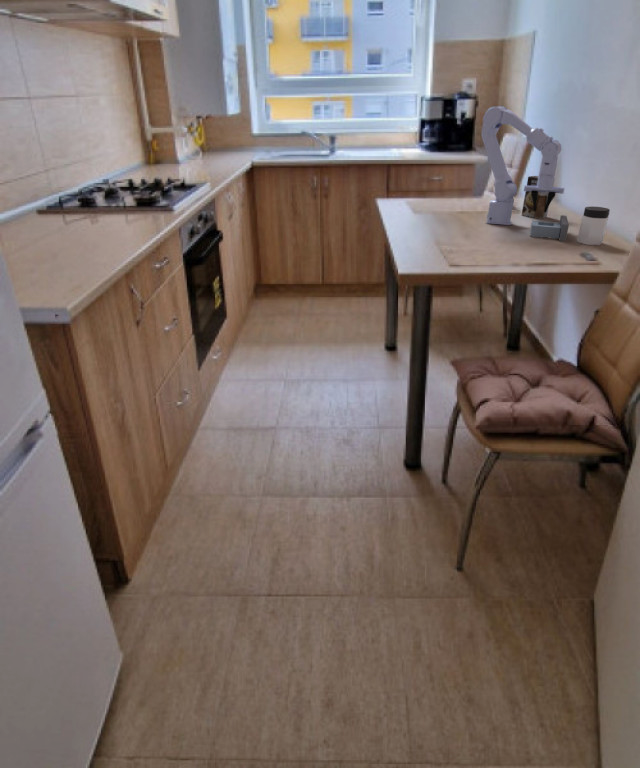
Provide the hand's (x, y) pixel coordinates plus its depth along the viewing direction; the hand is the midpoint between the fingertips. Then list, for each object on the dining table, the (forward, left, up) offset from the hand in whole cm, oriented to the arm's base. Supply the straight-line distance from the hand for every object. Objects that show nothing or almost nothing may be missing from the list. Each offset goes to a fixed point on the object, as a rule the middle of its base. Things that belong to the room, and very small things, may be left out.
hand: (539, 211), depth 226 cm
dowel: (0, 0, -2) cm, 2 cm away
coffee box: (-1, +24, -7) cm, 25 cm away
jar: (+18, -19, -7) cm, 27 cm away
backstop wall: (+9, -12, -6) cm, 16 cm away
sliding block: (+3, -12, -6) cm, 14 cm away
